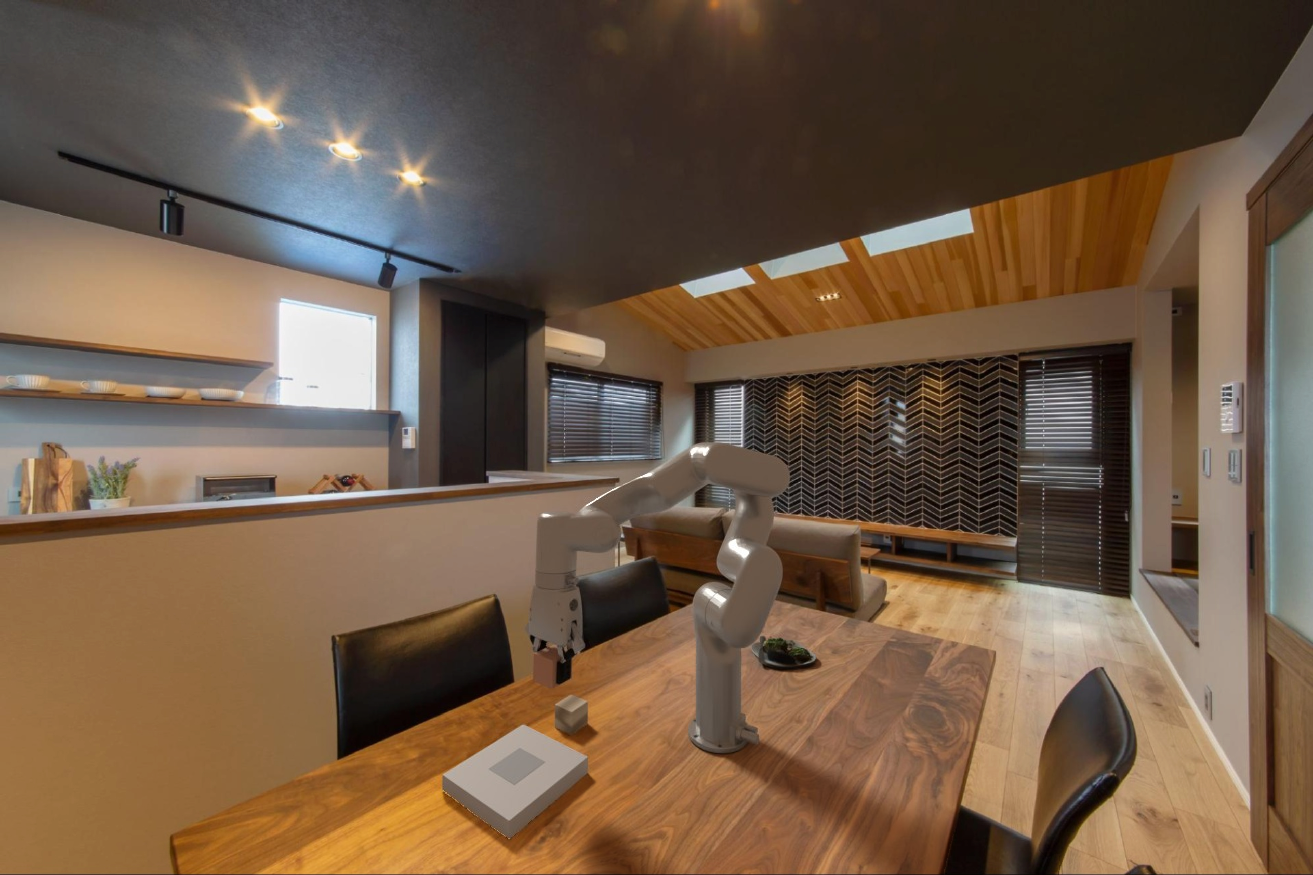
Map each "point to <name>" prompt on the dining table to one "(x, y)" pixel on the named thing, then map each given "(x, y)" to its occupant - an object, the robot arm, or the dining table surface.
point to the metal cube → (571, 714)
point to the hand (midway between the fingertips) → (552, 675)
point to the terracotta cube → (547, 666)
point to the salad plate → (783, 654)
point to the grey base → (515, 778)
